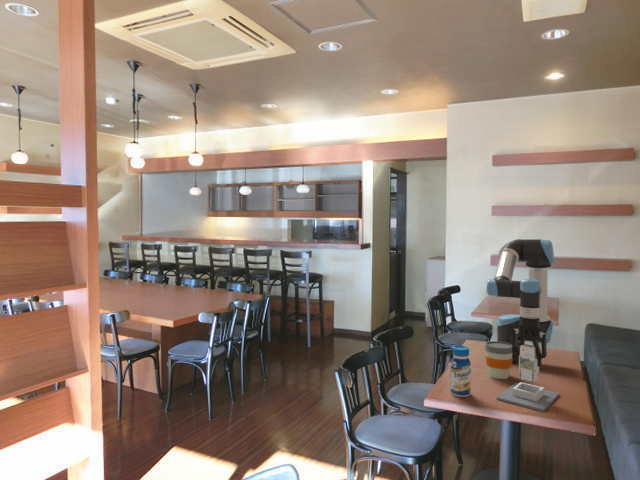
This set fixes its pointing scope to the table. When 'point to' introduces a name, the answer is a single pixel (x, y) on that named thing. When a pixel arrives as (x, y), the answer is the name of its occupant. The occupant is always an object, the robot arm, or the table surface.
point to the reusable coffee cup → (498, 359)
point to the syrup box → (527, 363)
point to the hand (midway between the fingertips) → (528, 371)
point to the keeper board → (528, 396)
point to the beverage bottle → (460, 372)
